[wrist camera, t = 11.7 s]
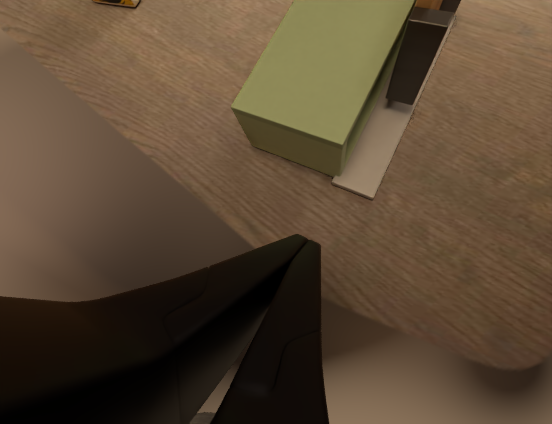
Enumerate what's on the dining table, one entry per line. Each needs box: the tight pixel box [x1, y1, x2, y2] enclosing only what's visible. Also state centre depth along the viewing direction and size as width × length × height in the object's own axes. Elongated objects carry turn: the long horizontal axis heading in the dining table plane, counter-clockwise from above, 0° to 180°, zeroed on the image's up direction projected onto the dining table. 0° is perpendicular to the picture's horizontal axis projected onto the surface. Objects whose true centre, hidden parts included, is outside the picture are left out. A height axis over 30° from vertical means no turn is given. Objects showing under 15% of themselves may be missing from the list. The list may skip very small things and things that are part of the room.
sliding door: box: [385, 0, 454, 105], centre depth 17 cm, size 9×2×8 cm, turn 152°
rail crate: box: [231, 0, 461, 200], centre depth 20 cm, size 18×11×5 cm, turn 152°
